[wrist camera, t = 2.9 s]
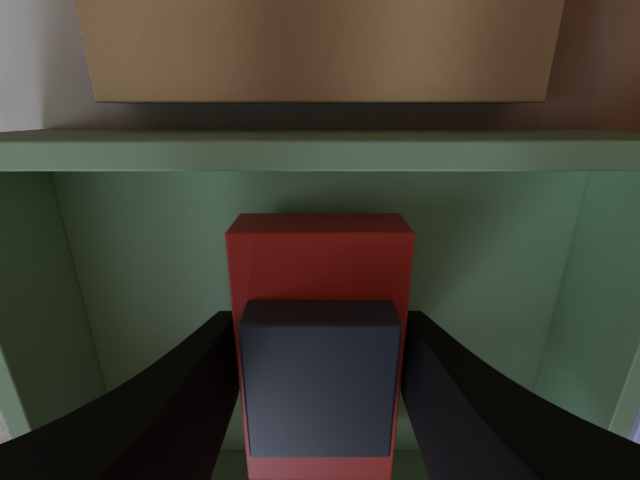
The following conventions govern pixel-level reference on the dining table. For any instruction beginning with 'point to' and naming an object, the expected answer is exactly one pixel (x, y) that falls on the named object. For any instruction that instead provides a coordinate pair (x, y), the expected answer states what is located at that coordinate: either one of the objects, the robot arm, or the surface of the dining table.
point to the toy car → (319, 340)
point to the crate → (319, 197)
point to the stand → (319, 50)
